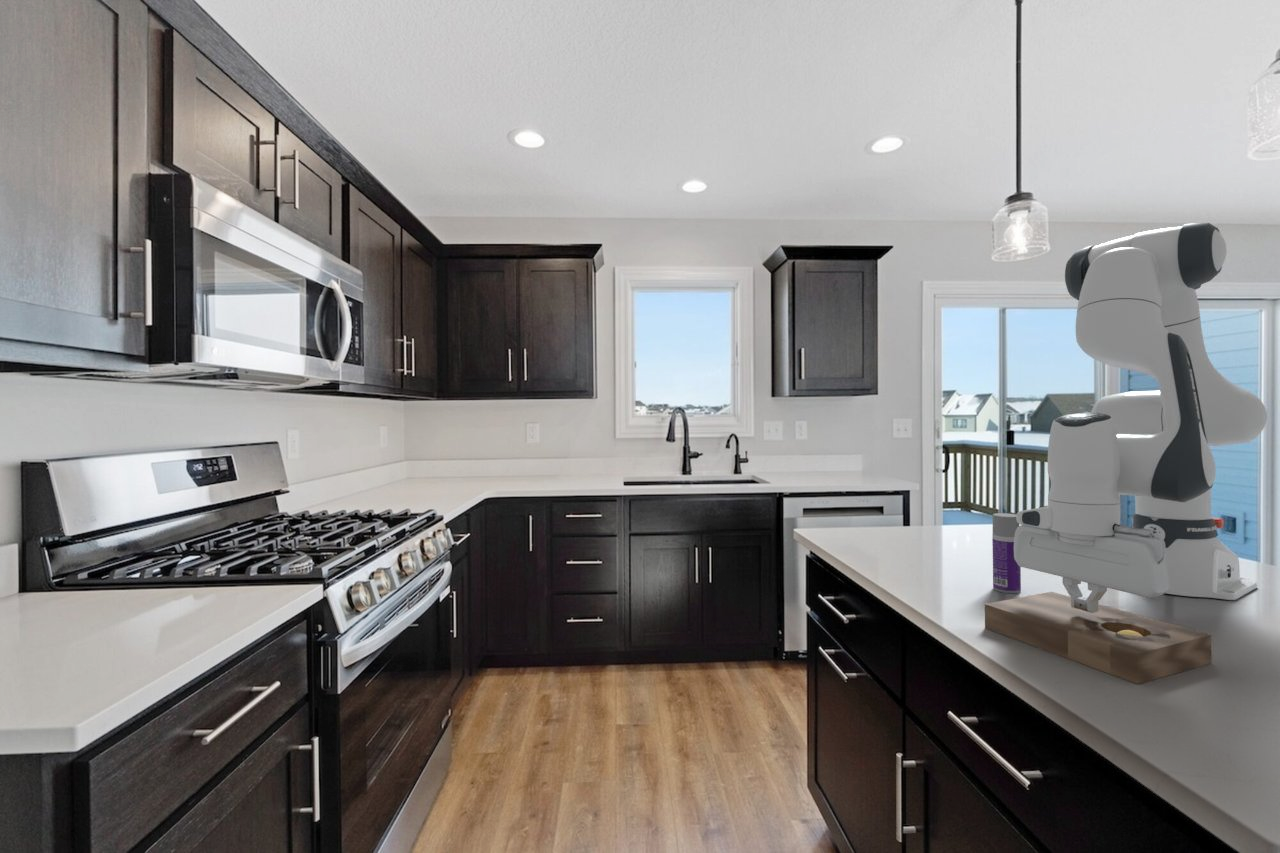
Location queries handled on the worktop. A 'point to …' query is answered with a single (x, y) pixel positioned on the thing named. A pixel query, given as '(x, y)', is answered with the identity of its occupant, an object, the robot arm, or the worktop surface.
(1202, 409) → the robot arm
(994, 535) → the container
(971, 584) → the worktop surface
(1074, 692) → the worktop surface
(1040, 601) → the board
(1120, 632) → the ball
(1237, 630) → the worktop surface
